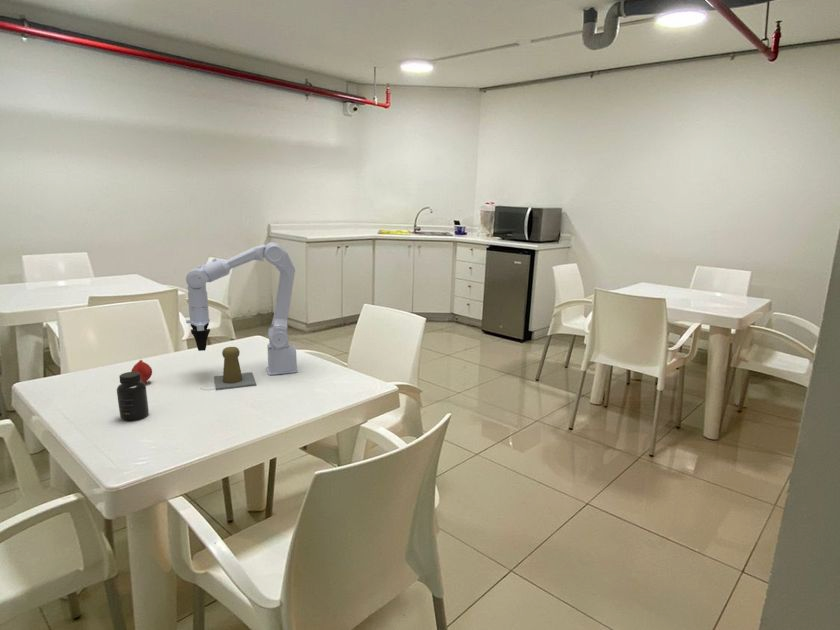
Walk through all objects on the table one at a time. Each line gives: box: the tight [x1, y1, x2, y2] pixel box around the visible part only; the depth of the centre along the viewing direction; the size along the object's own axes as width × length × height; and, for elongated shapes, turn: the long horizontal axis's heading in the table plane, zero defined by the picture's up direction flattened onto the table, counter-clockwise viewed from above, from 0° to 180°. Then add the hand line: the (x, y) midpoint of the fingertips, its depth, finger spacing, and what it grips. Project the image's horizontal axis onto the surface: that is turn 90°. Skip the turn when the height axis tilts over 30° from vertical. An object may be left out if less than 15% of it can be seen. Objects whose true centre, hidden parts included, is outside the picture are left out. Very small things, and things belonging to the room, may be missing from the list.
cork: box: [221, 346, 242, 384], centre depth 163 cm, size 6×6×11 cm
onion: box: [130, 359, 153, 384], centre depth 160 cm, size 6×6×8 cm
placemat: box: [213, 371, 257, 391], centre depth 165 cm, size 12×12×1 cm
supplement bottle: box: [116, 371, 150, 422], centre depth 136 cm, size 7×7×12 cm
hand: (201, 347), depth 166 cm, fingers open, 7 cm apart
